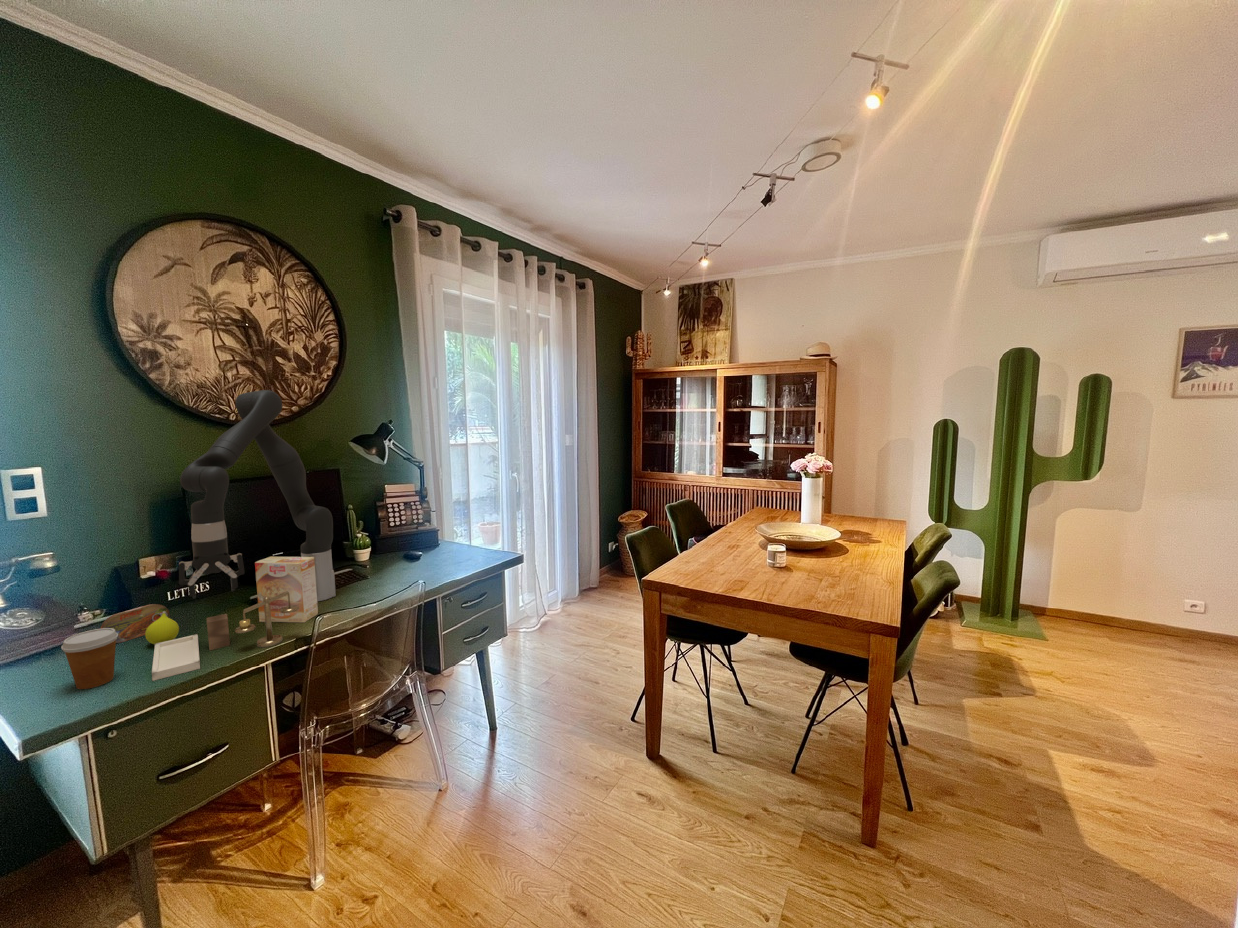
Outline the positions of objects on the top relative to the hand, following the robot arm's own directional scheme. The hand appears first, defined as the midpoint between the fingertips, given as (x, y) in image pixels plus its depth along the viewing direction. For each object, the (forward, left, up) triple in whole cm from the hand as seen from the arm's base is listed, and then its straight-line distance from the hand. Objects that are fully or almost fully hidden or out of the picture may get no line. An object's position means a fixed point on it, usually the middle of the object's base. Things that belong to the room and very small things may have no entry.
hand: (214, 593), depth 139 cm
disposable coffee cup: (+24, +5, -15) cm, 29 cm away
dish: (+9, +3, -15) cm, 18 cm away
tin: (+18, -24, -15) cm, 34 cm away
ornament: (+12, -12, -15) cm, 23 cm away
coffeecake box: (-18, -9, -15) cm, 25 cm away
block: (0, 0, -15) cm, 15 cm away
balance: (-11, +8, -15) cm, 20 cm away
